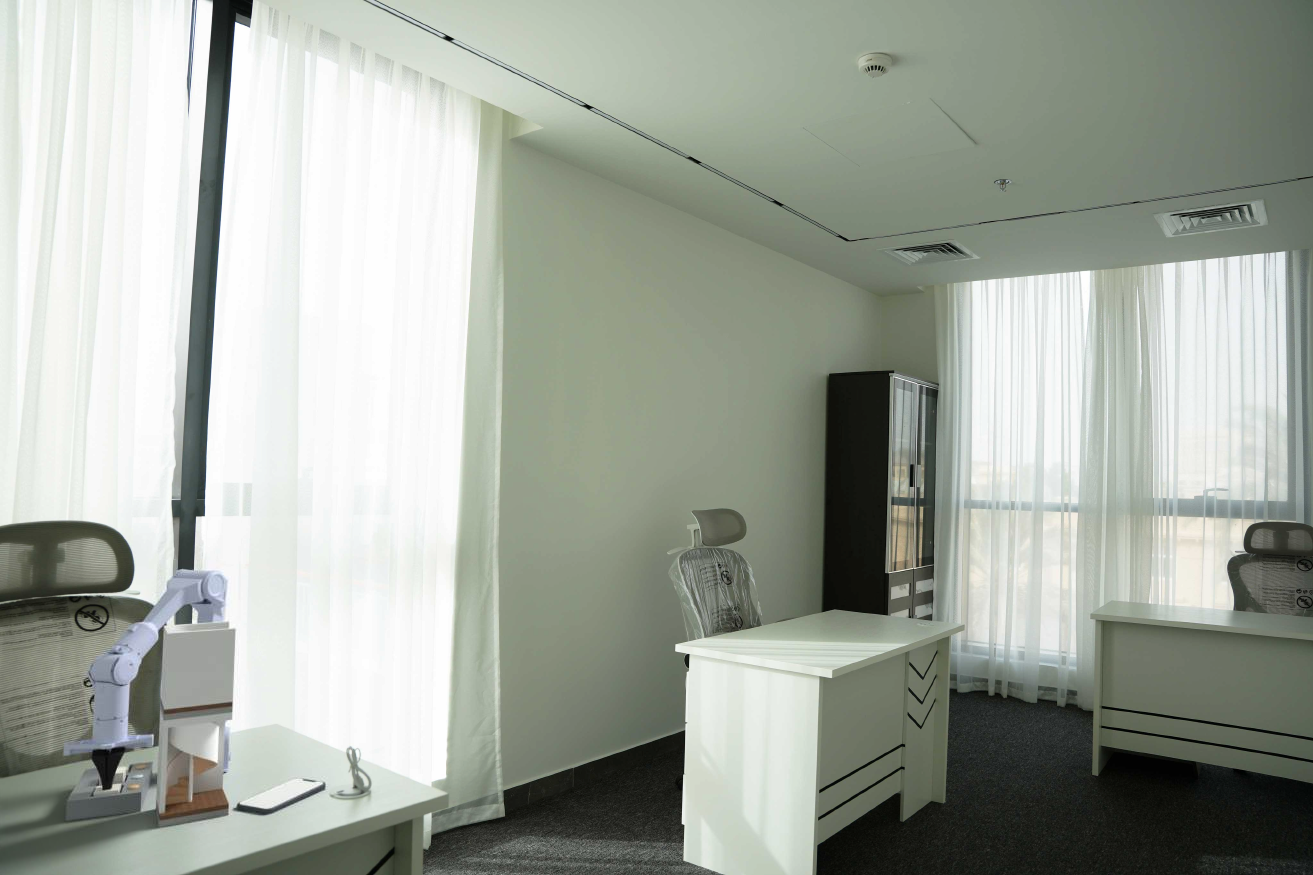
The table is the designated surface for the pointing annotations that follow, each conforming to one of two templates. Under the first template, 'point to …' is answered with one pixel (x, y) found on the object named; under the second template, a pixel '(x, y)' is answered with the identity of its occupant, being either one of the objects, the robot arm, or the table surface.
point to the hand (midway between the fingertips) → (107, 788)
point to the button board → (127, 801)
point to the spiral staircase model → (194, 721)
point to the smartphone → (281, 796)
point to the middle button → (118, 776)
